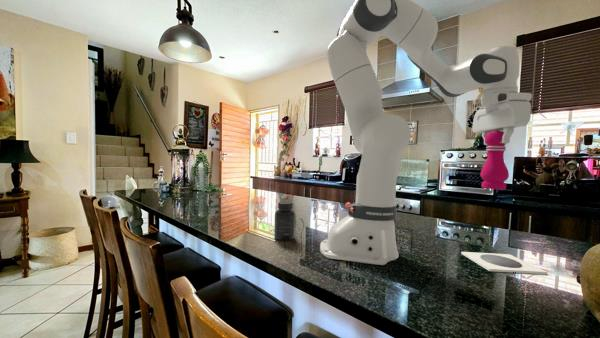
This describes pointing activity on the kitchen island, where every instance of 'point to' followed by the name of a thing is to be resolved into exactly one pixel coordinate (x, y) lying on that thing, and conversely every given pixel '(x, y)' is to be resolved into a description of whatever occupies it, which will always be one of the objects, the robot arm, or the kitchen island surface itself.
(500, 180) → the pepper mill
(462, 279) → the kitchen island surface
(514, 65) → the robot arm
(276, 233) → the supplement bottle
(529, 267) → the white coaster
